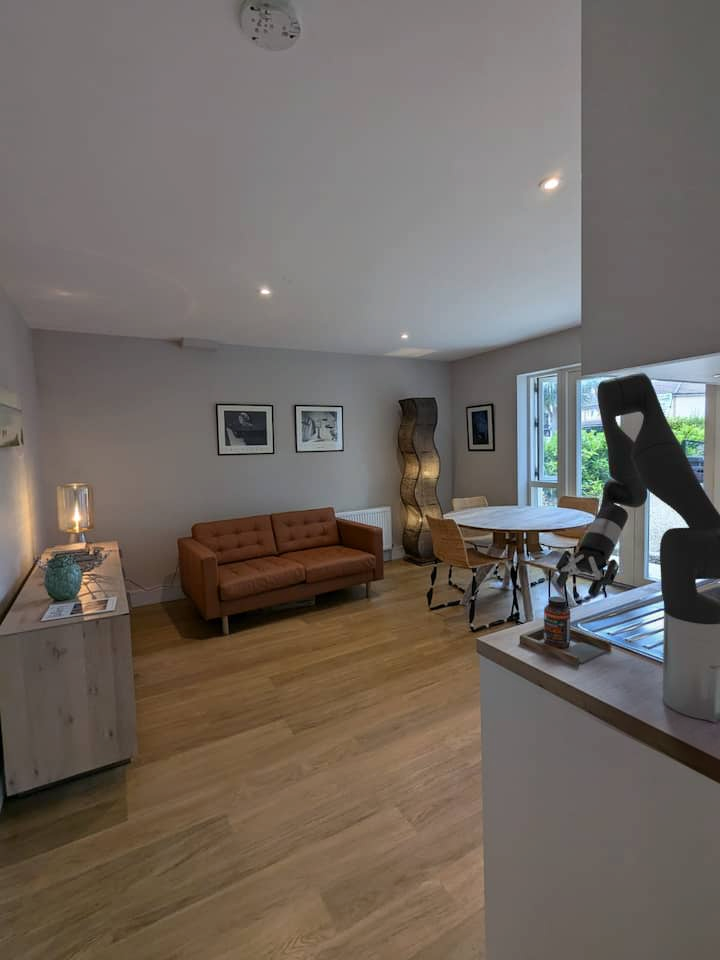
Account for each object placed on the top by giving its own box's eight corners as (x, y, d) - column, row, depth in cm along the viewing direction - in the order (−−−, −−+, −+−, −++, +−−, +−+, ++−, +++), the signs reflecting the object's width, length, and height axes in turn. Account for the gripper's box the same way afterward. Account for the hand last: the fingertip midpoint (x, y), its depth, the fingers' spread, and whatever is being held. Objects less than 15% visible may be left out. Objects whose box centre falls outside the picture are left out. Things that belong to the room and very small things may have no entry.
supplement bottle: (542, 646, 111) (542, 600, 110) (545, 637, 116) (545, 593, 115) (569, 650, 108) (569, 604, 107) (570, 641, 113) (571, 596, 112)
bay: (611, 649, 108) (611, 641, 108) (576, 666, 100) (576, 657, 100) (554, 629, 120) (554, 622, 120) (519, 643, 113) (519, 635, 113)
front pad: (606, 652, 107) (606, 650, 107) (581, 664, 101) (581, 662, 101) (582, 643, 112) (582, 641, 112) (557, 654, 106) (557, 652, 106)
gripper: (569, 527, 125) (543, 575, 119) (622, 535, 113) (596, 589, 107) (580, 543, 128) (555, 591, 123) (633, 552, 116) (608, 606, 111)
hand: (574, 590), depth 115 cm, fingers open, 8 cm apart
